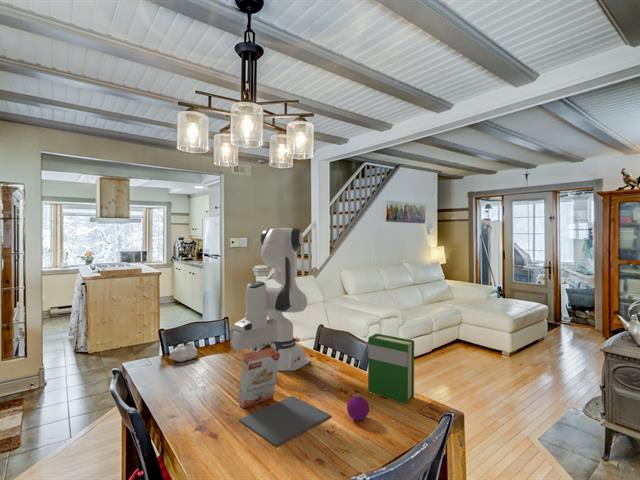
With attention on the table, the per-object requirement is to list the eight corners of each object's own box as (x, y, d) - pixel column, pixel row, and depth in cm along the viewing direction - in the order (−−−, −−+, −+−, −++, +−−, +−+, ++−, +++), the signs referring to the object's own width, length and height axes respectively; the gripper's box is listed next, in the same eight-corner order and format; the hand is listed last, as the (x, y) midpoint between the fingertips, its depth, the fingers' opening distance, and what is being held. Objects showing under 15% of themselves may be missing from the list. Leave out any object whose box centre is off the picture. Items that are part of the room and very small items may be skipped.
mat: (292, 397, 144) (292, 395, 144) (331, 416, 129) (331, 415, 129) (238, 420, 126) (238, 419, 126) (276, 447, 111) (276, 445, 111)
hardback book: (413, 397, 145) (414, 340, 144) (407, 404, 139) (407, 345, 138) (375, 386, 155) (376, 333, 155) (368, 392, 149) (368, 337, 149)
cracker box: (243, 409, 134) (249, 361, 130) (236, 400, 138) (242, 353, 135) (274, 398, 143) (280, 353, 139) (266, 390, 148) (272, 346, 144)
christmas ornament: (346, 412, 132) (346, 387, 132) (367, 413, 132) (367, 387, 131) (347, 424, 124) (347, 397, 124) (370, 425, 123) (370, 397, 123)
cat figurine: (197, 339, 193) (170, 342, 182) (202, 349, 188) (176, 353, 177) (191, 352, 196) (165, 355, 185) (196, 362, 191) (169, 367, 180)
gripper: (271, 316, 150) (271, 348, 150) (230, 325, 135) (230, 360, 135) (281, 319, 145) (280, 351, 145) (238, 328, 131) (238, 364, 131)
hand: (256, 355), depth 140 cm, fingers closed
